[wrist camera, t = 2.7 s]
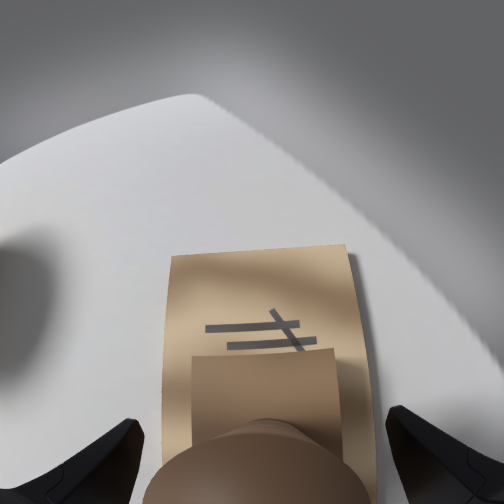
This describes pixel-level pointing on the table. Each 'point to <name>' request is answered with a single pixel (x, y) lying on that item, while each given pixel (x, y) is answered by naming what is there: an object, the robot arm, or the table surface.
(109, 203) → the table surface
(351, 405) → the oak board
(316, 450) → the block
